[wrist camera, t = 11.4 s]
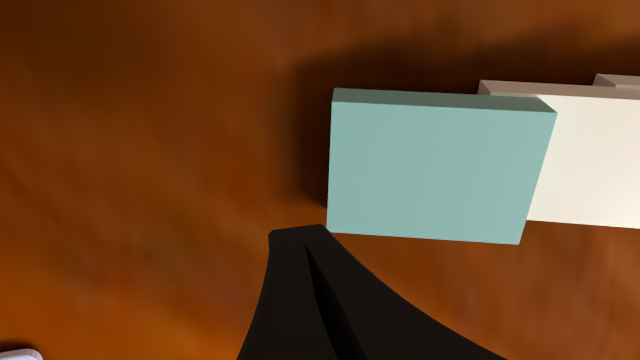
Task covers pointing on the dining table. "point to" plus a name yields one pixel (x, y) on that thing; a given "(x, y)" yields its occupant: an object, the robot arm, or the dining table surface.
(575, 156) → the domino
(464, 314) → the dining table surface
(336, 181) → the domino teal
